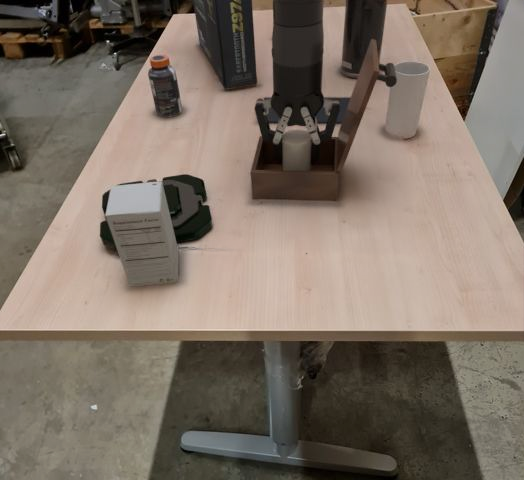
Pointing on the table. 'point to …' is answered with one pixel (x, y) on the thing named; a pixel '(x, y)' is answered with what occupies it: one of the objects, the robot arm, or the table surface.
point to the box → (228, 39)
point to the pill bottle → (164, 87)
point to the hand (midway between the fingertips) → (296, 162)
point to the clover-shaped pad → (175, 208)
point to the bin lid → (362, 99)
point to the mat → (321, 115)
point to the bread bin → (295, 175)
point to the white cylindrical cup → (406, 98)
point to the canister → (296, 150)
